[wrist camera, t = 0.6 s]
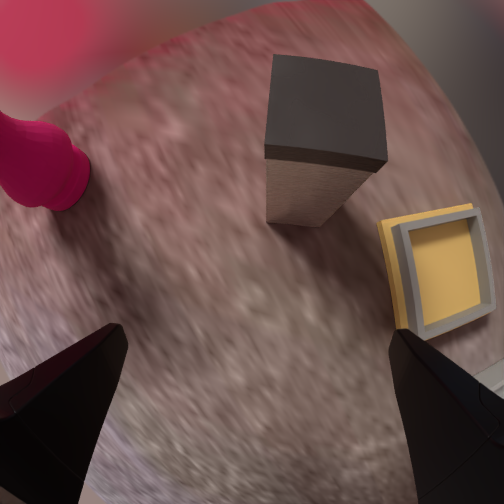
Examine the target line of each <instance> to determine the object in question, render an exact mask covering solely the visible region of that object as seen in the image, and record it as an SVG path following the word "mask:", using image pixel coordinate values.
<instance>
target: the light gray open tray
mask: <svg viewBox="0 0 504 504" xmlns="http://www.w3.org/2000/svg"><path fill="white" fill-rule="evenodd" d="M473 377H474V378H475V379H477V380H478V381H479V383H480V382H481V383H482V384H483V385H485V386H486V387H487V388H489V389H490V390H491V391H493V392H494V393H495V394H497V395H498V396H500V397H501V398H503V399H504V358H503V359H502V360H500V361H499V362H497V363H495V364H494V365H492V366H490V367H489V368H487V369H485V370H483V371H482V372H480V373H478V374H476V375H474V376H473Z"/></svg>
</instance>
